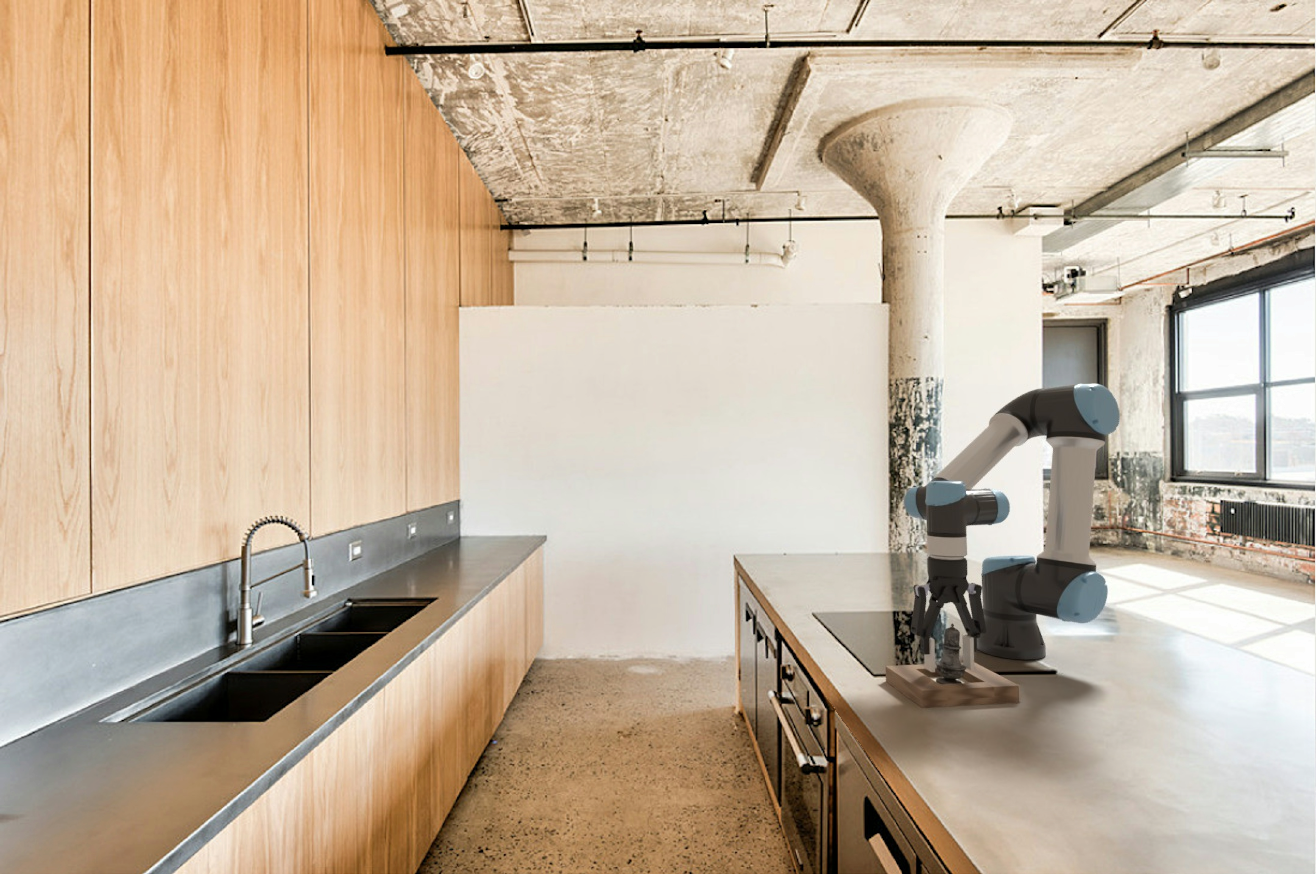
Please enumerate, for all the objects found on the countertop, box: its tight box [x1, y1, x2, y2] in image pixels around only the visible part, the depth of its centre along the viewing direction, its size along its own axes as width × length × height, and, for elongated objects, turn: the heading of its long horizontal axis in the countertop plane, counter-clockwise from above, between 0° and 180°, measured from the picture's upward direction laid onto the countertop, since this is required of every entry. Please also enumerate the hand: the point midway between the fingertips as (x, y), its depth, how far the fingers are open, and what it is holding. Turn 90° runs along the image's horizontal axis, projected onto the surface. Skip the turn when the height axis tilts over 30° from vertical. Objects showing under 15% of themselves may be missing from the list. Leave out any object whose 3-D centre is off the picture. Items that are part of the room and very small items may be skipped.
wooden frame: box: [885, 661, 1021, 708], centre depth 134 cm, size 20×15×3 cm
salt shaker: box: [935, 622, 966, 684], centre depth 135 cm, size 6×6×12 cm
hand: (949, 669), depth 135 cm, fingers open, 8 cm apart
